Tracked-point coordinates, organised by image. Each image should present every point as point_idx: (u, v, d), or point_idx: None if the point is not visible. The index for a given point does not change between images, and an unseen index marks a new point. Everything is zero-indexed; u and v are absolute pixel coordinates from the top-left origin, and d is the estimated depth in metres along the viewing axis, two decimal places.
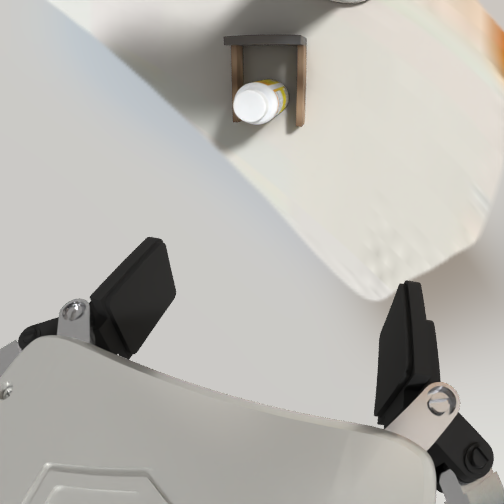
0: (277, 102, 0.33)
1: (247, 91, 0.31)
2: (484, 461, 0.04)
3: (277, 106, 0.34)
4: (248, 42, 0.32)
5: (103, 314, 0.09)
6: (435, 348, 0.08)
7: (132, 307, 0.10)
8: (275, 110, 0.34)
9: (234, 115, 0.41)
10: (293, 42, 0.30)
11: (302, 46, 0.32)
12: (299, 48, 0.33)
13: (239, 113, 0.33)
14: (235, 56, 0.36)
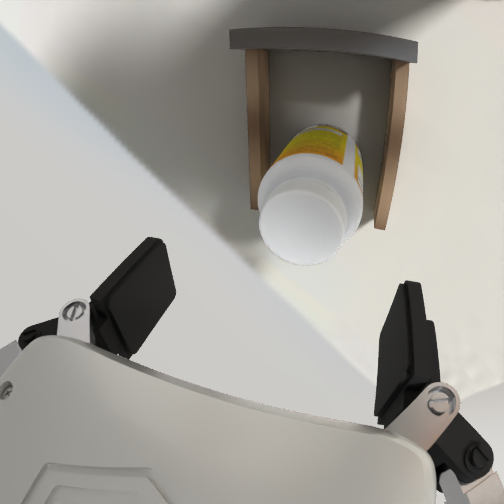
0: (362, 208, 0.15)
1: (298, 193, 0.13)
2: (484, 461, 0.04)
3: (360, 217, 0.15)
4: (290, 44, 0.13)
5: (103, 314, 0.09)
6: (435, 348, 0.08)
7: (132, 307, 0.10)
8: (356, 227, 0.15)
9: (253, 197, 0.22)
10: (400, 56, 0.11)
11: (406, 64, 0.13)
12: (400, 68, 0.14)
13: (274, 243, 0.14)
14: (255, 74, 0.17)
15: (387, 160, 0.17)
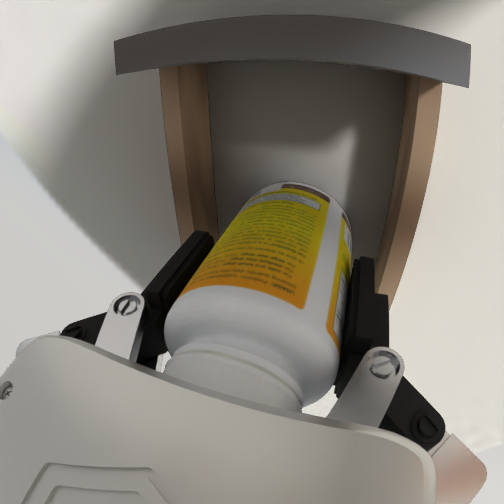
0: (337, 370, 0.08)
1: None
2: (433, 430, 0.06)
3: None
4: (210, 54, 0.07)
5: (157, 307, 0.10)
6: (386, 319, 0.09)
7: None
8: (324, 393, 0.09)
9: None
10: (437, 72, 0.05)
11: (437, 86, 0.07)
12: (425, 92, 0.07)
13: None
14: (176, 107, 0.11)
15: (392, 248, 0.11)
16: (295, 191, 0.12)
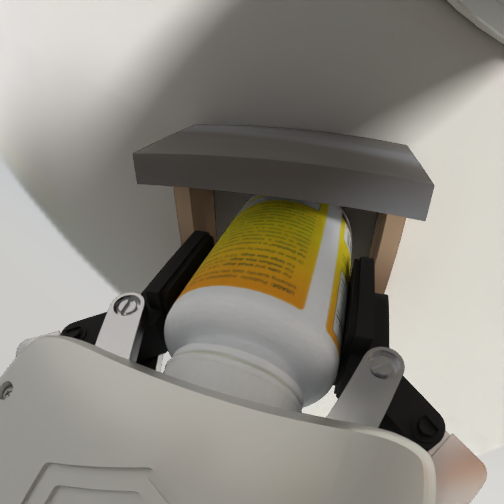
0: (337, 370, 0.08)
1: None
2: (433, 430, 0.06)
3: None
4: (218, 186, 0.10)
5: (157, 307, 0.10)
6: (386, 319, 0.09)
7: None
8: (324, 393, 0.09)
9: None
10: (400, 211, 0.08)
11: None
12: None
13: None
14: (187, 198, 0.14)
15: None
16: None
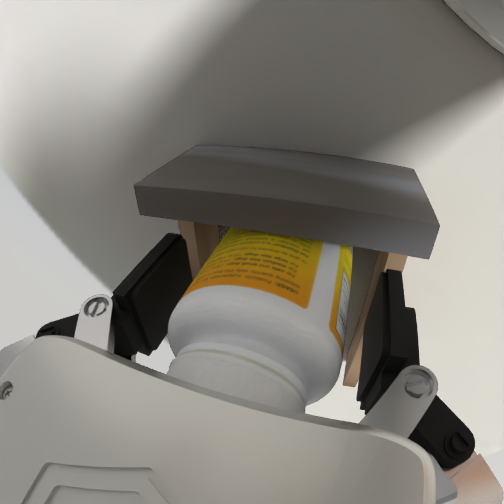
0: (339, 369, 0.08)
1: None
2: (464, 446, 0.05)
3: None
4: (222, 221, 0.10)
5: (126, 310, 0.09)
6: (415, 334, 0.08)
7: (154, 303, 0.10)
8: None
9: None
10: (404, 250, 0.08)
11: None
12: None
13: None
14: (190, 222, 0.14)
15: None
16: None
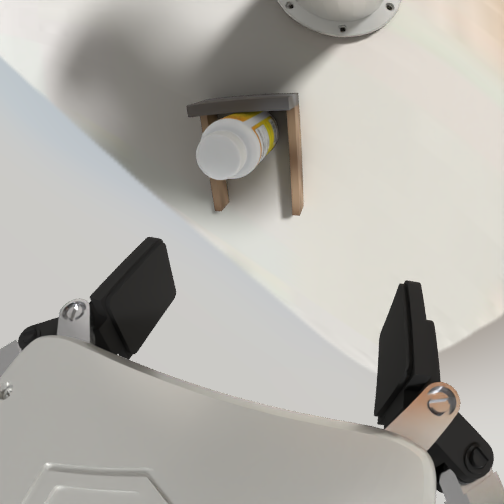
0: (259, 145, 0.25)
1: (212, 136, 0.23)
2: (484, 461, 0.04)
3: (259, 151, 0.25)
4: (218, 112, 0.26)
5: (103, 314, 0.09)
6: (435, 348, 0.08)
7: (132, 307, 0.10)
8: (257, 157, 0.25)
9: (215, 203, 0.35)
10: (279, 108, 0.25)
11: (292, 108, 0.27)
12: (289, 112, 0.27)
13: (205, 168, 0.24)
14: None
15: (290, 170, 0.30)
16: None
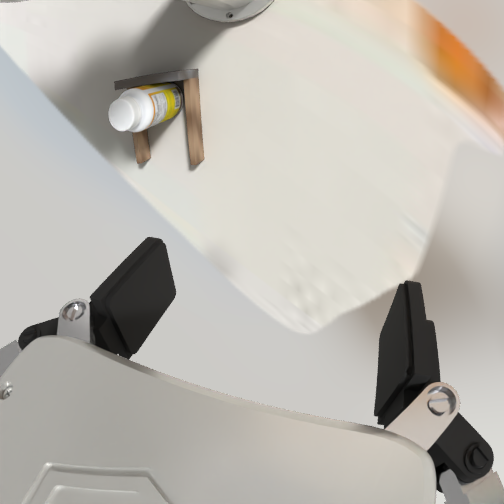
0: (152, 106, 0.30)
1: (117, 100, 0.28)
2: (484, 461, 0.04)
3: (152, 110, 0.31)
4: (134, 85, 0.32)
5: (103, 314, 0.09)
6: (435, 348, 0.08)
7: (132, 307, 0.10)
8: (150, 115, 0.31)
9: (137, 156, 0.41)
10: (172, 79, 0.30)
11: (188, 80, 0.32)
12: (185, 82, 0.33)
13: (113, 123, 0.30)
14: None
15: (187, 128, 0.36)
16: None
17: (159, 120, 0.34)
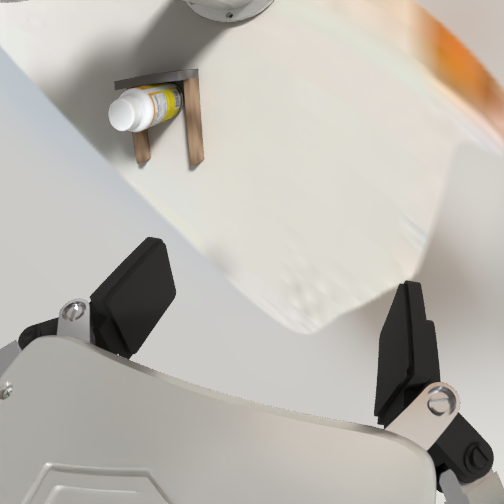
0: (152, 106, 0.30)
1: (117, 100, 0.28)
2: (484, 461, 0.04)
3: (153, 110, 0.31)
4: (134, 85, 0.32)
5: (103, 314, 0.09)
6: (435, 348, 0.08)
7: (132, 307, 0.10)
8: (150, 115, 0.31)
9: (137, 156, 0.41)
10: (172, 79, 0.30)
11: (188, 80, 0.32)
12: (185, 82, 0.33)
13: (113, 123, 0.30)
14: None
15: (187, 128, 0.36)
16: None
17: (159, 120, 0.34)
